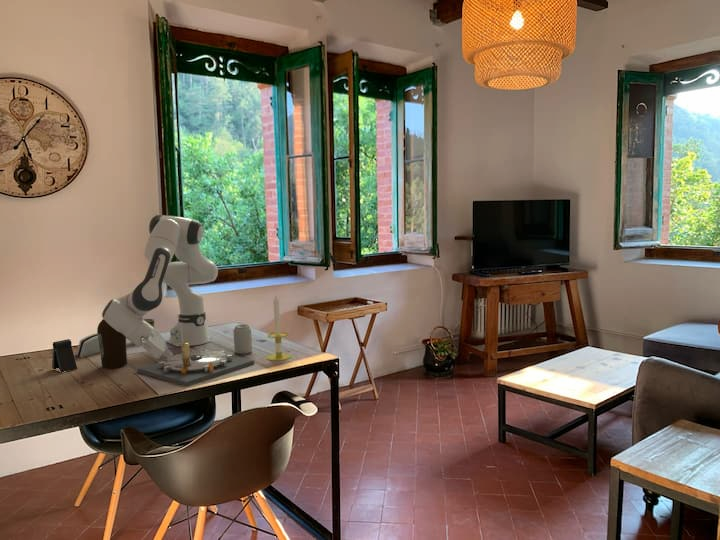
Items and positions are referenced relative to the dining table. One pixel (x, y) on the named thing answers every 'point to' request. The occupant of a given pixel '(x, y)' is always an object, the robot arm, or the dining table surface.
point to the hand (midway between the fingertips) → (172, 357)
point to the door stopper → (63, 356)
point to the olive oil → (111, 346)
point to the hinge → (88, 346)
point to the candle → (278, 336)
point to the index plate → (195, 376)
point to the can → (242, 339)
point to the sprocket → (194, 360)
